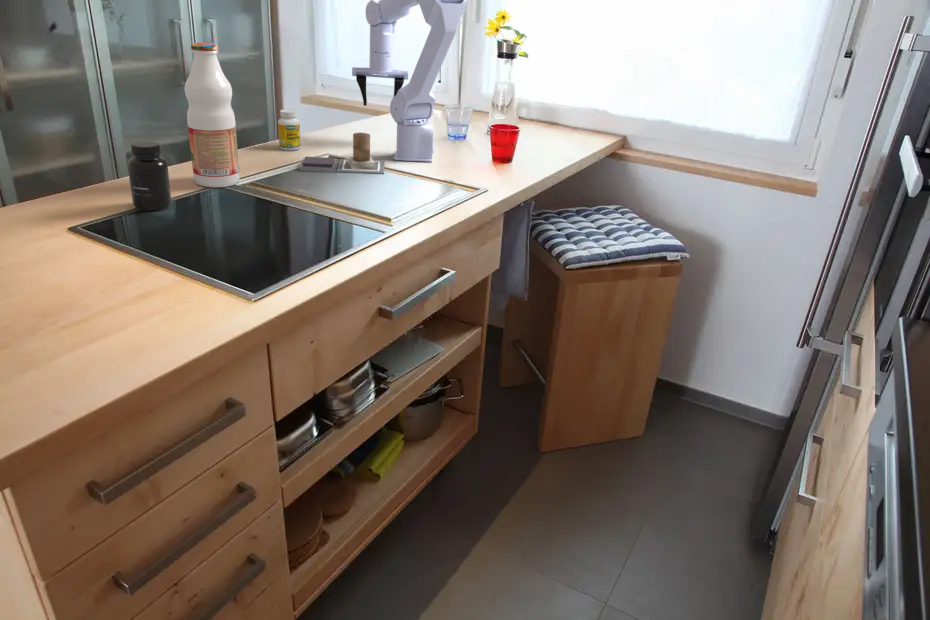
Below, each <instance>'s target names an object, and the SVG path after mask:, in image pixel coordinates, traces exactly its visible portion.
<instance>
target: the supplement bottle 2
mask: <svg viewBox="0 0 930 620" xmlns="http://www.w3.org/2000/svg"><path fill="white" fill-rule="evenodd" d="M279 115H280V118H279V119H278V120H277V126H278V127H277V128H278V129H277V131H278V142H279V143H278V145H279V149H281V150H282V151H298V150H300V149H301V129H300V128H301V126H300V121H299V119H298V118H296V117H297V110H295V109H290V108H289V109H287V108H286V109H280V110H279Z"/></svg>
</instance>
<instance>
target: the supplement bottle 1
mask: <svg viewBox="0 0 930 620" xmlns="http://www.w3.org/2000/svg"><path fill="white" fill-rule="evenodd" d="M130 148H131V155H132V157H131V158H129V159H128V162H127V171H128V178H129V180H128V181H129V185H130V192H131V199H132V205H133V207H134V208H135V209H137V211H141V212H142V211H143V212H159V211H164V210H166V209H169V208H170V207H171V206H172V193H171V186H170V175H169V167H168V162H167V161H166V159H165V158H164V157H162V156H160V155H161V150H160V144H159V143H158V142H156V141H150V140H149V141H148V140H147V141H146V140H145V141H144V140H141V141H140V140H139V141H135V142H132V143H131V144H130Z"/></svg>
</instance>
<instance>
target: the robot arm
mask: <svg viewBox="0 0 930 620" xmlns="http://www.w3.org/2000/svg"><path fill="white" fill-rule="evenodd" d="M467 3H468V0H369V1H368V3H366V6H365V19H366V22H367V23H368V25H369V67H357V66H356V67H353V66H352V68H351V76H352V77H356V78H355V79H356V82H357V85H358V87H359V90H360V92H361V93H360V94H361V97H362V101H363V102H362V103H363V106H367V105H368V104H367V103H368V102H367V101H368V100H367V99H368V98H367V77H369V78H381V79H382V78H384V79H393V80H394V81H393V97H392V98H391V101H390V104H389V112H390V115H391V118H392V120H393V121H394V122H395V123H396V150H395V151H394V160H395V161H407V162H408V161H409V162H427V163H428V162H429V163H430V162H431V163H432V162H433V154H434V146H433V145H434V124H433V123H429V120H430V119H431V117H432V116H433V114H434V105H435V103H436V97H435V94H434V93H433V91H432V89H433V86H434V83H435V82H436V80H437V77H438V74H439V72H440V70H441V67H442V65H443V63H444V60H445V59H446V56H447V54H448V52H449V50H450V47H451V44H452V42H453V40H454V38H455V36H456V33H457V28H458V24H459V21H460V19H461V16H462V14H463V12H464V9H465V7H466V4H467ZM418 5H419V8H420V11H421V13H422V15H423V19H424V21H425V23H426V24H428V26H430V30H429V31H428V32H429V33H428V35H427V37H426V40H425V43H424V45H423V47H422V51H421V53H420V55H419V58H418V60H417V63H416V65H415V68H414V69H413V73H412V75H411V77H410V80H409V70H401V69H392V67H393V66H392V65H393V64H392V63H393V62H392V59H393V34H395V31H396V29H395V28H396V25H397V22H398V20H400V19H401V18H404V17H406V16H408V15H409V14H410V13H411V10H412V8H413V7H415V6H416V7H417V6H418ZM405 80H406V81H409V82H408V83H407V84H405V85H404V83H405ZM403 85H404V86H403Z"/></svg>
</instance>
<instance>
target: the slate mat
mask: <svg viewBox="0 0 930 620" xmlns="http://www.w3.org/2000/svg"><path fill="white" fill-rule="evenodd" d="M373 160H374V159H373ZM374 162H375V169H352V168H351V166H350V165H349V163H348V159H347V158H340V159H339V162H338V164H337V165H338V166H337V167H336V168H337V169H336V172H337V173H343V174H344V173H349V174H372V175H375V174H376V175H384V174H385V160H374Z"/></svg>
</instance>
